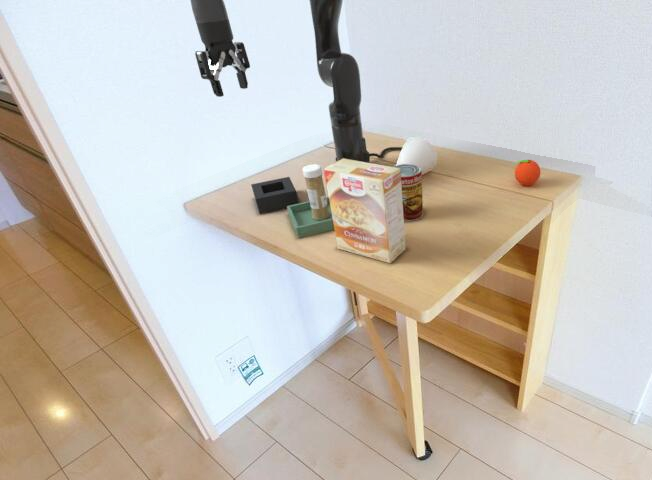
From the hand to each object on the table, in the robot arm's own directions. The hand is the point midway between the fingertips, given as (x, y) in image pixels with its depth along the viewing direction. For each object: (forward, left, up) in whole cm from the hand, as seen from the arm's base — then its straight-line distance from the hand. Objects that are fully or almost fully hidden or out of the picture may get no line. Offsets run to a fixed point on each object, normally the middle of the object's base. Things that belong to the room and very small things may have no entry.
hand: (232, 92), depth 114 cm
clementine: (-70, +33, -28) cm, 82 cm away
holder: (-4, +9, -28) cm, 30 cm away
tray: (-13, +26, -28) cm, 40 cm away
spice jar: (-13, +26, -28) cm, 40 cm away
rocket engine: (-41, +13, -28) cm, 52 cm away
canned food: (-34, +34, -28) cm, 56 cm away
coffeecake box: (-20, +46, -28) cm, 58 cm away
